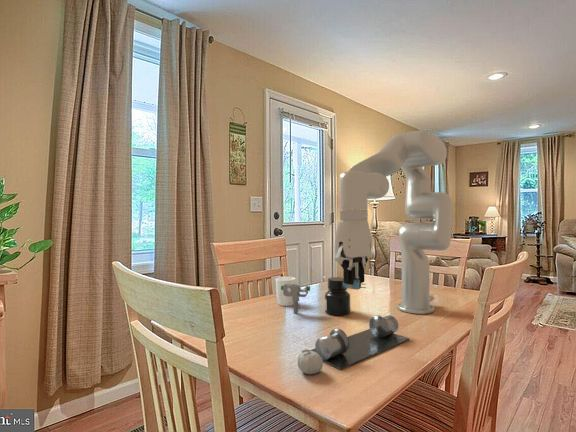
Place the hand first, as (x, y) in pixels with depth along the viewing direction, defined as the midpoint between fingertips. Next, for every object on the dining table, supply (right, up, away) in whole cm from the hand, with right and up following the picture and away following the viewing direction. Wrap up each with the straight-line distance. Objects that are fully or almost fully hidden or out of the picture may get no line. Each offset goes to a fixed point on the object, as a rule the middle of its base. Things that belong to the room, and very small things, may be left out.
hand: (353, 282), depth 95 cm
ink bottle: (-1, -16, +28) cm, 32 cm away
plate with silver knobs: (+1, -17, -3) cm, 17 cm away
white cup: (-19, -16, +40) cm, 47 cm away
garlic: (-13, -17, -17) cm, 28 cm away
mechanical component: (-16, -16, +27) cm, 35 cm away
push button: (0, -2, 0) cm, 2 cm away
